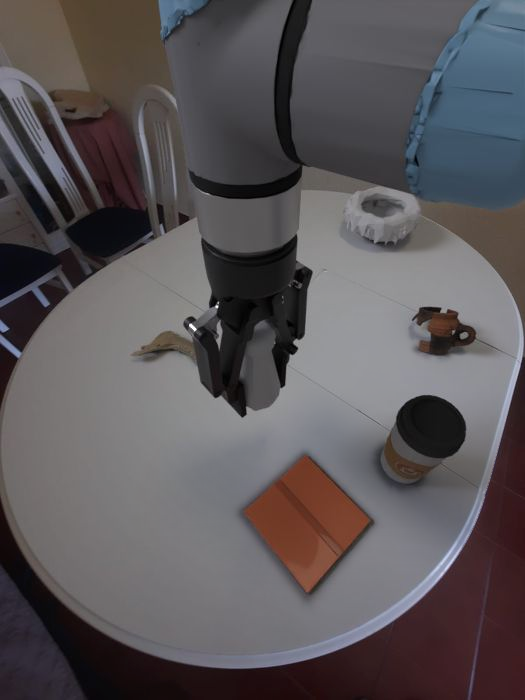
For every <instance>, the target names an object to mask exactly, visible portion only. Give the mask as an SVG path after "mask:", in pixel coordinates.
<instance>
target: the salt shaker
mask: <svg viewBox="0 0 525 700" xmlns="http://www.w3.org/2000/svg"><path fill="white" fill-rule="evenodd" d="M275 336H276V335H275V331H274V329H273V327H272V325H271V324H270V323H268V322H267V321H266V320H263V321H260V322H259V323H258V324H257V325H256V326H255V328H254V332H253V336H252V340H251V341H248V342H247V345H246V349H245V354H244V358H243V363H242V367H241V372H240V376H239V381H240V382H241V383H242V384H243V385H244V391H245V401H246V408H249V409H251V410H252V411H254V412H257V411H261V410H264V409H265V410H266V409H268V408H270V407H271V406H272V405H273V404H274V403H275V402H276V400H277V399H278V397H279V396H280V391H281V388H280V382H279V378H278V374H277V370H276V366H275V362H274V358H273V355H272V351H271V350H272V348H273V347H274V344H275Z"/></svg>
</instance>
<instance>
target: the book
mask: <svg viewBox="0 0 525 700" xmlns="http://www.w3.org/2000/svg"><path fill="white" fill-rule="evenodd" d="M243 514H245V516H246V517H247V519H248V520H249V521H250V522H251V524H252V525H253V526H254V527H255V529H256V530H257V531H258V533H259V534H260V535H261V536H262V538H263V539H264V540H265V542H266V543H267V544H268V545H269V547H270V548H271V550H272V551H273V552H274V553H275V554H276V556H277V557H278V558H279V559H280V561H281V563H283V565H284V566H285V567H286V568H287V570H288V571H289V572H290V573H291V575H292V576H293V577H294V579H295V580H296V581H297V583H298V584H299V585H300V586H301V588H302V589H303V590H304V591H305V593H306V594H309V593H310V592H311V591H312V589H313V588H314V587H315V586H316V585H317V584H318V582H319V581H321V579H322V578H323V577H324V576H325V574H326V573H327V572H329V570H330V569H331V567H333V565H334V564H335V563H336V561H337V560H339V558H341V556H342V555H343V554H344V552H345V551H346V550H347V549H348V548H349V547H350V546H351V545H352V543H354V541H355V540H356V538H357V537H358V536H360V534H361V533H362V531H364V529H365V528H366V527H367V526H368V525H369V523H370V522H371V520H372V519H370V518H369V517H368V516H367V514H365V512H364V511H362V509H361V508H360V507H358V506H357V504H355V502H354V501H352V500H351V499H350V497H349V496H348V495H346V493H345V492H344V491H343V490H341V488H339V486H337V484H336V483H335V482H334V481H333V480H331V478H330V477H329V476H328V475H327V474H326V473H325V472H324V471H323V470H322V469H321V468H320V467H319V466H318V465H317V464H316V463H315V462H314V461H313V460H312V459H311V458H310V457H309V456H308V455H307V454H305V455H304V456H303V457H302V458H300V459H299V460H298V461H297V462H296V463H295V464H294V465H293V466H291V468H290V469H288V470H287V471H286V472H285V473H284V474H283V475H282V476H281V477H280V478H279V479H277V480H276V482H274V483H273V484H272V485H271V486H270V487H269V488H268V489H267V490H266V491H264V492H263V493H262V494H261V495H260V496H259V497H257V498H256V500H254V502H252V503H251V504H250V505H249V506H248V507H247V508H245V510H244V511H243Z"/></svg>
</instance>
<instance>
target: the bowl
mask: <svg viewBox="0 0 525 700" xmlns="http://www.w3.org/2000/svg"><path fill="white" fill-rule="evenodd" d="M422 213H423V211H422V207H421V204H420V202H419V200H418V198H417V197H415V195H413V194H409V193H406V192H402V191H398V190H395V189H391V188H387V187H384V186H380V185H376V186H374V187H370V188H368V189H366V190H356V192H354V193H353V194H352V196H351V197H349V198H348V200H347V202H346V204H345V205H344V207H343V212H342V214H344V218H343V219H344V221H345V224H347V225H346V231H348V229H349V226H350V230H351V232H355V233H357V234H359V235H361V238H363V237H365V238H366V239H368V240H369V241H371V240H372V241H373V243H374V244H377V243H378V242H384V246H386V245H387V243H388V242H393V243H394V244H393V245H394V246H396V244H397V243H398V241H399V240H400V241H402V240H403V239H404V238H406V236H407V235H408V234H410V232H412V231H413V230H415V229H416V227H417V226H418V224H419V223H420V221H421V215H422Z"/></svg>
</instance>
